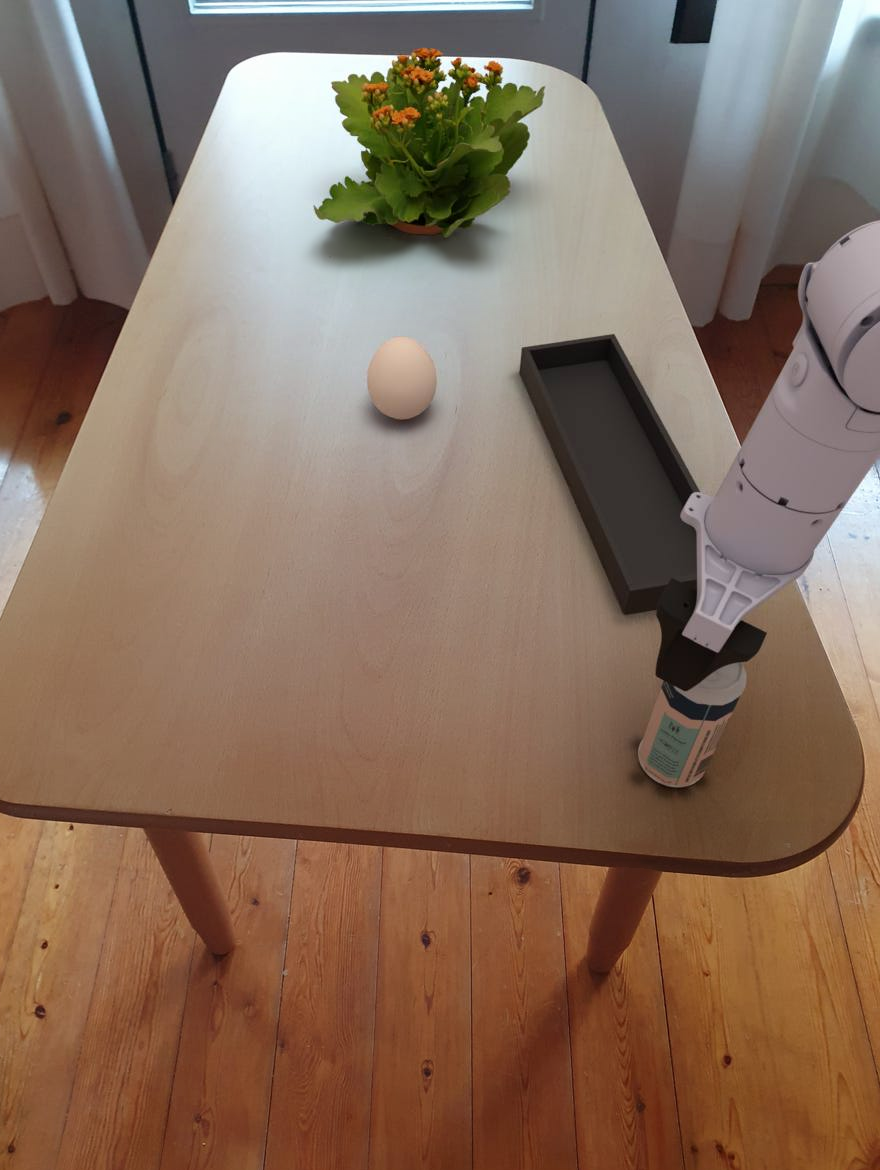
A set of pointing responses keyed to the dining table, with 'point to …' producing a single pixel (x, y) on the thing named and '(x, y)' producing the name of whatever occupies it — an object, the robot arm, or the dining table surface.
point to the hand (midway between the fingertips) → (694, 636)
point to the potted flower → (429, 144)
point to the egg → (401, 378)
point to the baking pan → (615, 464)
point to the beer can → (689, 726)
